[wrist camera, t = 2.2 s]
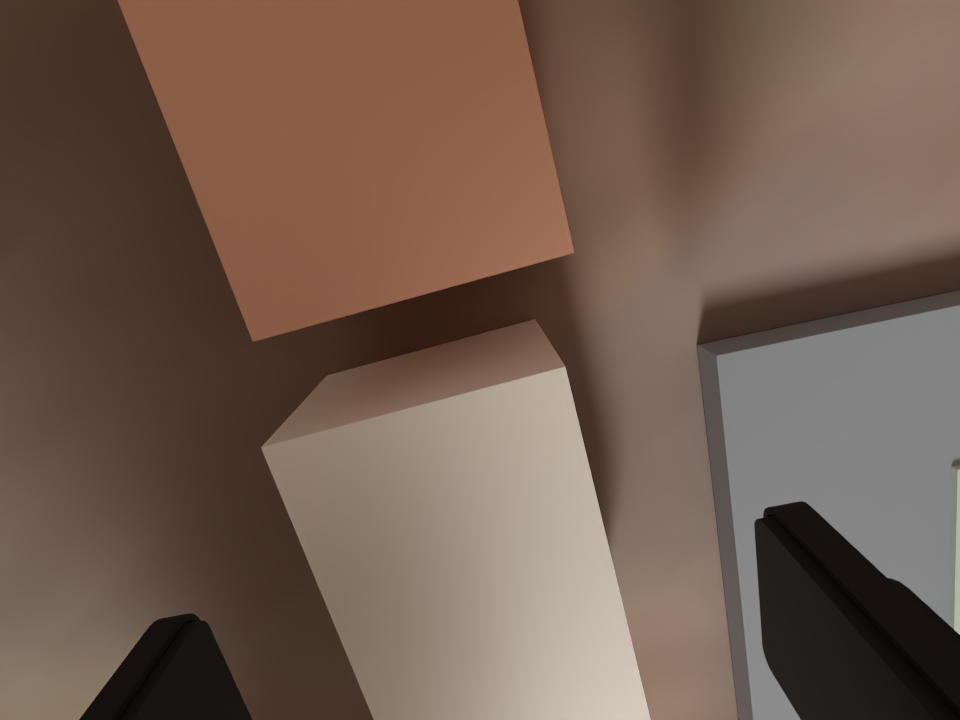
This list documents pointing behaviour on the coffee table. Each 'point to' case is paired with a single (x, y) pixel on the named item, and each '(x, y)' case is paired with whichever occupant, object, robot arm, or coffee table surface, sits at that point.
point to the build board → (837, 456)
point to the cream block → (461, 534)
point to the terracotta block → (354, 146)
